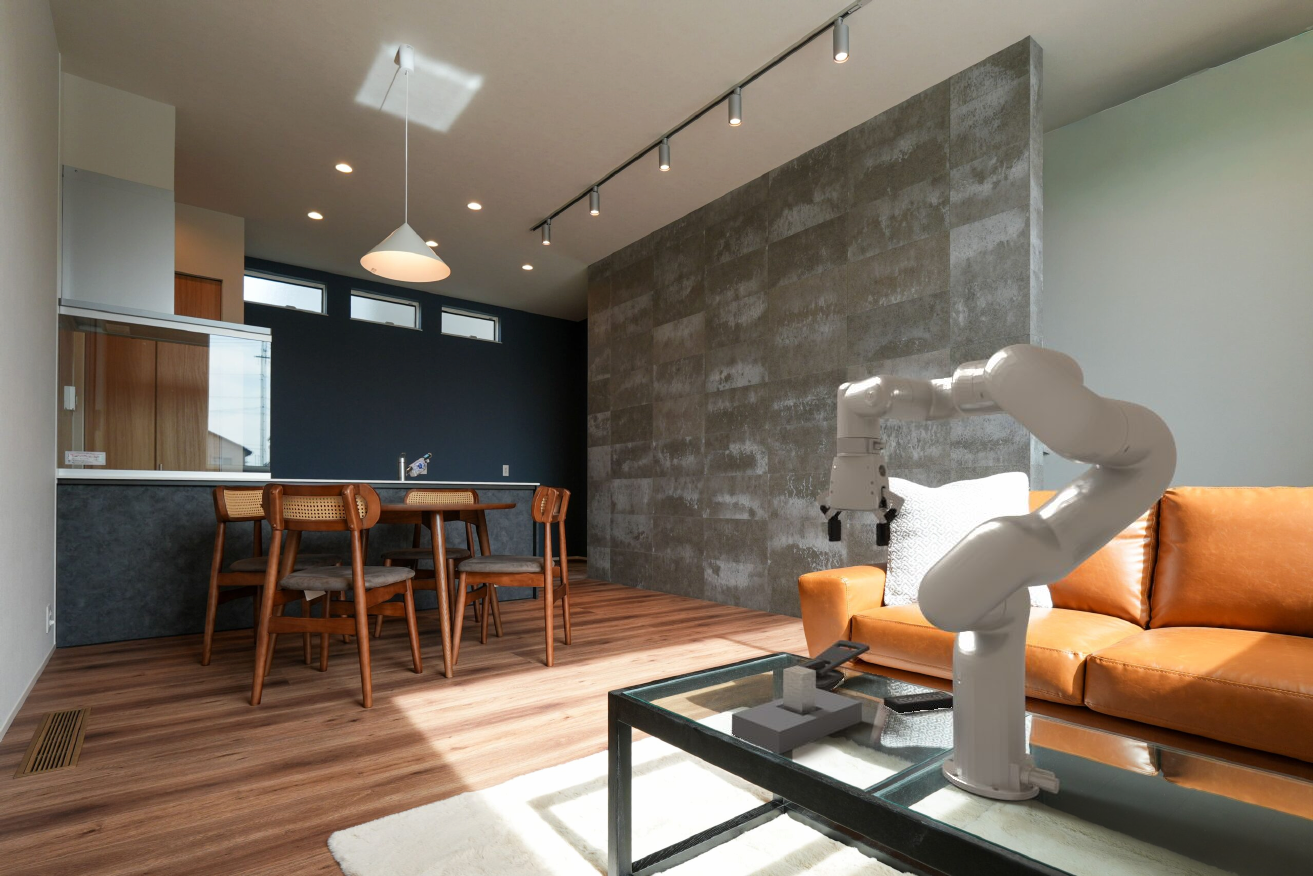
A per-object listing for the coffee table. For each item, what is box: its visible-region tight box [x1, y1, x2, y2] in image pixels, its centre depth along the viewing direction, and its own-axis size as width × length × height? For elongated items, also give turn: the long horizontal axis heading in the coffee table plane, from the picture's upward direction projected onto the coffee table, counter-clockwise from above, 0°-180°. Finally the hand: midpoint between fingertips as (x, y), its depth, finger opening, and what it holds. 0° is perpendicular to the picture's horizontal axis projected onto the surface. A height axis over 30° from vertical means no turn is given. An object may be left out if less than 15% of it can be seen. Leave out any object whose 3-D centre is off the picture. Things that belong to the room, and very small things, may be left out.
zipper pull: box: [796, 639, 871, 692], centre depth 143 cm, size 9×7×25 cm
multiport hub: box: [883, 690, 953, 713], centre depth 127 cm, size 4×14×2 cm, turn 110°
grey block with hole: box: [731, 688, 863, 755], centre depth 114 cm, size 10×24×4 cm, turn 131°
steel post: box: [782, 665, 816, 716], centre depth 114 cm, size 4×4×10 cm
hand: (858, 543), depth 118 cm, fingers open, 9 cm apart
